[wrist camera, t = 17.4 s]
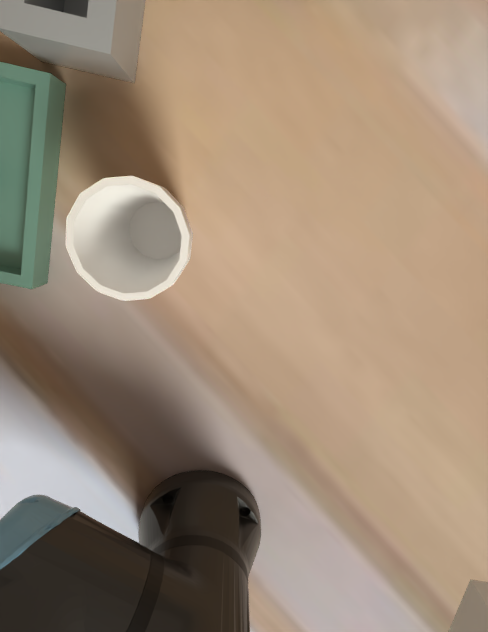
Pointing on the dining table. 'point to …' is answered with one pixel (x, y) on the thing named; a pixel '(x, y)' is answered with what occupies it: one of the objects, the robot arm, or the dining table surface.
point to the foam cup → (128, 237)
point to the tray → (28, 171)
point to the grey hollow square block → (78, 33)
